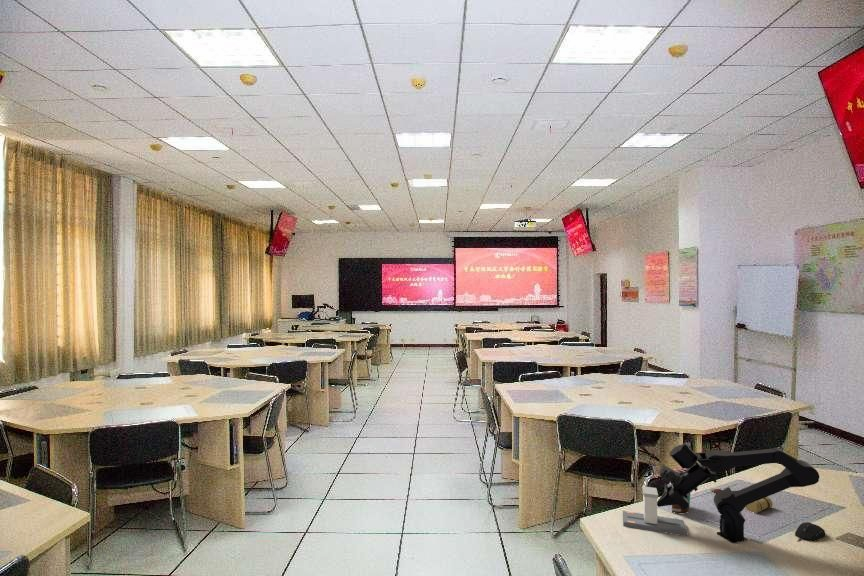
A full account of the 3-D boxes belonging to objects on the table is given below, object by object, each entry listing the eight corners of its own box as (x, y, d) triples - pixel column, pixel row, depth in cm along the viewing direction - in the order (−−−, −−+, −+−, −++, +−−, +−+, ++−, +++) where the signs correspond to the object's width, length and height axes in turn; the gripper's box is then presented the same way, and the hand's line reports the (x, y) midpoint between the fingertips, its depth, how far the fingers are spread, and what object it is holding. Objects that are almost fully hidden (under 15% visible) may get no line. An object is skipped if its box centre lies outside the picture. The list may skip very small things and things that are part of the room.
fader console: (683, 524, 167) (683, 519, 167) (687, 536, 159) (687, 531, 159) (622, 514, 175) (622, 510, 175) (623, 525, 166) (623, 521, 166)
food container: (689, 518, 172) (689, 490, 172) (671, 513, 176) (671, 486, 176) (695, 506, 182) (694, 480, 182) (677, 502, 185) (677, 476, 186)
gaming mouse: (786, 538, 159) (786, 526, 159) (807, 527, 166) (807, 516, 166) (808, 547, 153) (808, 534, 153) (829, 535, 160) (829, 523, 160)
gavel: (702, 486, 194) (717, 482, 198) (703, 497, 193) (718, 493, 198) (757, 502, 175) (772, 497, 180) (758, 515, 175) (773, 510, 179)
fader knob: (656, 516, 169) (656, 488, 170) (658, 524, 163) (658, 495, 164) (642, 514, 171) (642, 486, 171) (643, 522, 165) (643, 493, 165)
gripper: (670, 451, 174) (638, 477, 177) (677, 468, 156) (641, 497, 160) (694, 475, 171) (661, 501, 174) (704, 496, 153) (667, 524, 157)
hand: (657, 505), depth 166 cm, fingers closed, pressing on fader knob
